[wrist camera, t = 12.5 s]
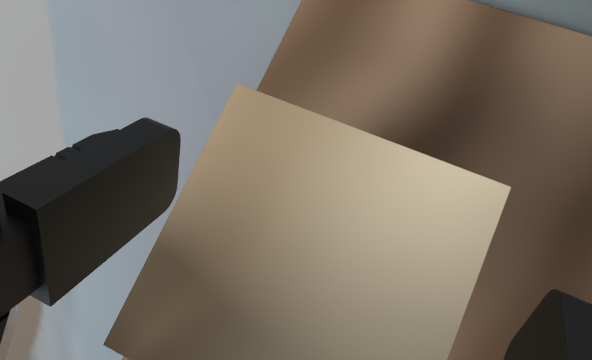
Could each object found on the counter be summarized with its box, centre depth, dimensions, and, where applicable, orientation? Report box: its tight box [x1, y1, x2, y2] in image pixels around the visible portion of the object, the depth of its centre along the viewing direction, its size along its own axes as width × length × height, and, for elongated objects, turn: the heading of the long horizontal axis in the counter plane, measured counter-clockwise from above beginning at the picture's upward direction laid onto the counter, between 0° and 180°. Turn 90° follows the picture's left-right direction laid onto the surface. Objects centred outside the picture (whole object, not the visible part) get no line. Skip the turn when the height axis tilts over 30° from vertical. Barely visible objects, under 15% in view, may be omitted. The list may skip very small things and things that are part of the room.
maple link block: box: [103, 83, 511, 360], centre depth 11 cm, size 5×5×10 cm
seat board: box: [122, 0, 592, 360], centre depth 17 cm, size 14×21×2 cm, turn 156°
